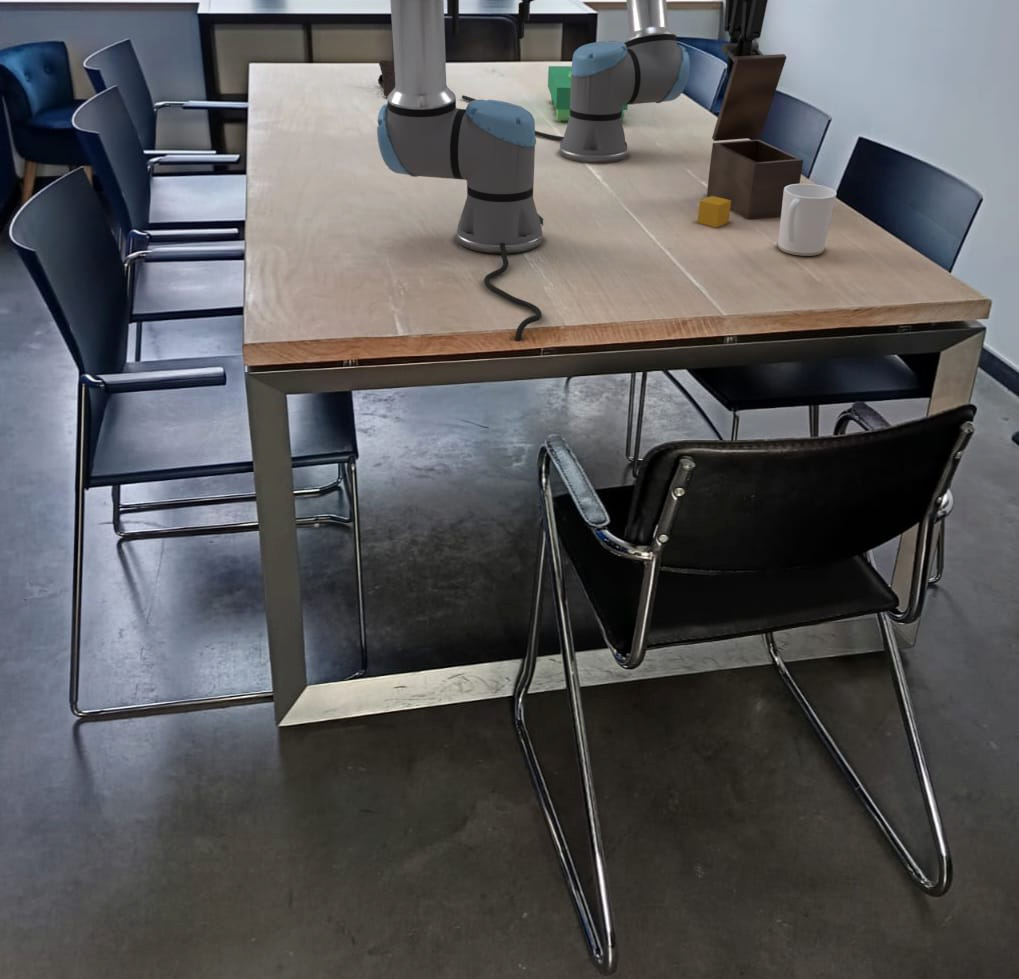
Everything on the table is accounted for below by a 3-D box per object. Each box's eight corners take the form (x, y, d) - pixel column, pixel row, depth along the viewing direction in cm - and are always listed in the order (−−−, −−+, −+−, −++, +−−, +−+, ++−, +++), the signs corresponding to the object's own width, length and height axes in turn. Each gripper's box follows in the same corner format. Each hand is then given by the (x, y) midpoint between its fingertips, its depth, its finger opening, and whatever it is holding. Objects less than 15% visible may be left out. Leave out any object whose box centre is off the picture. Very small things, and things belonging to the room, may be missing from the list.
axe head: (443, 87, 294) (392, 77, 287) (436, 115, 299) (385, 106, 292) (421, 62, 307) (371, 52, 300) (414, 89, 311) (365, 80, 304)
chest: (794, 214, 212) (803, 159, 207) (747, 219, 209) (755, 163, 204) (751, 191, 225) (758, 139, 220) (706, 195, 222) (712, 142, 217)
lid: (786, 56, 207) (764, 33, 212) (738, 59, 203) (717, 35, 209) (760, 137, 219) (740, 113, 225) (714, 141, 216) (694, 116, 222)
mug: (789, 236, 200) (798, 180, 195) (834, 247, 195) (845, 190, 190) (760, 251, 193) (769, 193, 188) (807, 263, 188) (817, 204, 183)
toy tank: (612, 47, 295) (630, 72, 266) (608, 94, 302) (626, 124, 272) (547, 45, 295) (557, 71, 265) (545, 93, 301) (555, 123, 271)
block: (728, 222, 207) (731, 200, 205) (716, 227, 205) (719, 205, 202) (709, 217, 210) (712, 195, 207) (697, 222, 207) (699, 200, 205)
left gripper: (556, -81, 212) (551, 36, 223) (431, -86, 216) (433, 29, 227) (549, -78, 206) (545, 42, 217) (421, -83, 210) (423, 35, 221)
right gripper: (793, -56, 197) (774, 80, 209) (749, -64, 209) (734, 65, 221) (757, -56, 195) (739, 82, 207) (715, -64, 207) (701, 67, 219)
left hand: (488, 36), depth 222 cm, fingers open, 13 cm apart
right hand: (736, 73), depth 214 cm, fingers closed on lid, 2 cm apart
